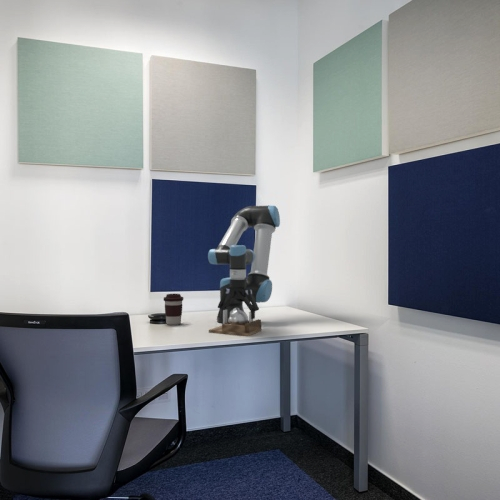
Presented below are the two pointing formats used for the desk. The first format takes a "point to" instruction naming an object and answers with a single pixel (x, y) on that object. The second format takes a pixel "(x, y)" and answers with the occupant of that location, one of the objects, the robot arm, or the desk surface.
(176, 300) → the coffee cup
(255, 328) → the open wooden box
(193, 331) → the desk surface
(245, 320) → the silver round lump
